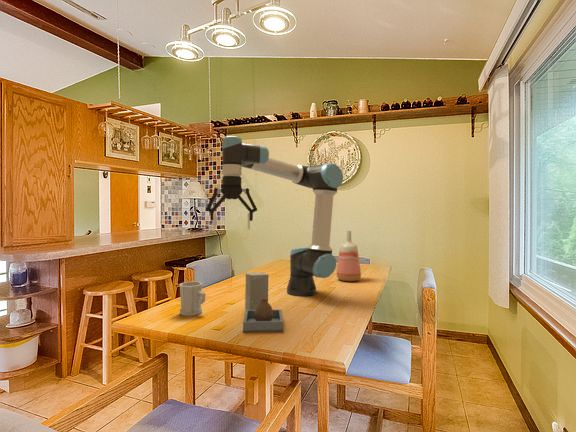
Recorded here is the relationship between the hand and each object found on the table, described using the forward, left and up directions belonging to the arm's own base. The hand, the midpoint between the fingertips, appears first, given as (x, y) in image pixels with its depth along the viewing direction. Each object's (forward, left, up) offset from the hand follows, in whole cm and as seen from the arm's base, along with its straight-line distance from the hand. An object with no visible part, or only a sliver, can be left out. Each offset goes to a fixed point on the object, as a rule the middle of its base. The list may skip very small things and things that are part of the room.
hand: (231, 229), depth 133 cm
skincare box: (-10, -5, -35) cm, 37 cm away
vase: (-13, +12, -34) cm, 39 cm away
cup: (+16, -3, -35) cm, 39 cm away
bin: (-13, +12, -35) cm, 39 cm away
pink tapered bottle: (-63, -61, -35) cm, 95 cm away
